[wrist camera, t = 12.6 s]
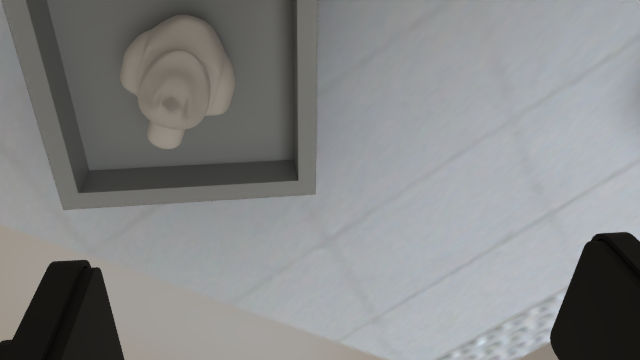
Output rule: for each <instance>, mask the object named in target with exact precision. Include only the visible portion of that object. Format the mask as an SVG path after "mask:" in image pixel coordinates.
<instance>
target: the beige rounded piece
mask: <svg viewBox="0 0 640 360" xmlns="http://www.w3.org/2000/svg"><path fill="white" fill-rule="evenodd" d="M120 81H121V84H122V85H123V87H124V88H125V89H126V90H128V91H129V92H131V93H133V94H134V95H136V96H137V97H138V104H139V108H140V110H141V112H142V113H143V114H144V115H145V116H146V118H148V119H149V120H150V122H149V126H148V130H147V136H148V139H149V141H150V142H151V143H152V144H153V145H155V146H156V147H159V148H162V149H173V148H175V147H177V146H179V145H180V143H181V142H182V139H183V136H184V132H185V129H189V128H192V127H195V126H196V125H198V124H199V123H200V122H201V121H202V120H203V118H204V116H216V115H221V114H223V113H225V112H226V111H227V110H228V108H229V106H230V103H231V100H232V96H233V93H234V90H235V74H234V69H233V65H232V63H231V60H230V59H229V57H228V56H227V54H226V53H225V51H224V48H223V45H222V43H221V41H220V39H219V37H218V36H217V34H216V32H215V31H214V29H213V28H212V26H211V25H209V24H208V23H207V22H205V21H204V20H202V19H199V18H197V17H194V16H190V15H175V16H173V17H171V18H169V19H167V20H165V21H163V22H161V23H160V24H158V25H157V26H155V27H154V28H153V29H151V30H148V31H145V32H143V33H142V34H140V35H139V36H138V37H137V38H136V39H135V40H134V41H133V42H132V43H131V44H130V46H129V47H128V48H127V50H126V52H125V54H124V58H123V63H122V68H121V73H120Z"/></svg>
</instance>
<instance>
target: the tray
mask: <svg viewBox="0 0 640 360" xmlns="http://www.w3.org/2000/svg"><path fill="white" fill-rule="evenodd" d="M2 4H3V7H4V10H5V14H6V17H7V21H8V24H9V27H10V31H11V34H12V38H13V41H14V44H15V48H16V51H17V55H18V58H19V61H20V65H21V68H22V72H23V75H24V78H25V82H26V85H27V89H28V92H29V95H30V99H31V102H32V105H33V109H34V112H35V116H36V119H37V122H38V126H39V129H40V133H41V136H42V139H43V143H44V146H45V150H46V153H47V156H48V160H49V163H50V167H51V170H52V173H53V177H54V180H55V184H56V187H57V190H58V194H59V197H60V201H61V204H62V207H63V210H69V209H85V208H102V207H118V206H134V205H151V204H167V203H183V202H200V201H216V200H232V199H248V198H265V197H281V196H297V195H314V194H316V125H317V45H318V0H2ZM175 15H190V16H194V17H197V18H199V19H202V20H204V21H205V22H207V23H208V24H209V25H211V26H212V28H213V29H214V31H215V32H216V34H217V36H218V37H219V39H220V41H221V43H222V45H223V48H224V51H225V53H226V54H227V56H228V57H229V59H230V60H231V63H232V65H233V69H234V74H235V90H234V93H233V96H232V100H231V103H230V106H229V108H228V110H227V111H226V112H225V113H223V114H221V115H216V116H204V118H203V120H202V121H201V122H200V123H199V124H198V125H196V126H195V127H192V128H189V129H185V132H184V136H183V139H182V142H181V143H180V145H179V146H177V147H175V148H173V149H162V148H159V147H156V146H155V145H153V144H152V143H151V142H150V141H149V139H148V136H147V130H148V126H149V122H150V120H149V119H148V118H146V116H145V115H144V114H143V113H142V112H141V110H140V108H139V104H138V97H137V96H136V95H134V94H133V93H131V92H129V91H128V90H126V89H125V88H124V87H123V85H122V84H121V81H120V73H121V68H122V63H123V58H124V54H125V52H126V50H127V48H128V47H129V46H130V44H131V43H132V42H133V41H134V40H135V39H136V38H137V37H138V36H139V35H140V34H142V33H143V32H145V31H148V30H151V29H153V28H154V27H155V26H157V25H158V24H160V23H161V22H163V21H165V20H167V19H169V18H171V17H173V16H175Z"/></svg>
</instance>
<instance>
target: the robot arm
mask: <svg viewBox="0 0 640 360" xmlns="http://www.w3.org/2000/svg"><path fill="white" fill-rule="evenodd" d="M550 340H551V345H552V348H553V350H554V352H555V354H556V356H557V357H558V359H559V360H640V242H639V241H638V240H637V239H636V238H635V237H634V236H633V235H632V234H630V233H627V232H619V233H601V234H596V235H595V236H594V237H593V238H592V240H591V241H590V242H588V243H586V245H585V246H584V249H583V251H582V254H581V256H580V259H579V261H578V264H577V267H576V269H575V272H574V274H573V277H572V279H571V282H570V285H569V287H568V290H567V292H566V295H565V297H564V300H563V303H562V305H561V308H560V310H559V313H558V315H557V318H556V321H555V323H554V326H553V328H552V331H551V335H550ZM0 360H124V357H123V352H122V349H121V345H120V341H119V337H118V333H117V330H116V326H115V322H114V318H113V314H112V310H111V306H110V302H109V299H108V295H107V291H106V287H105V283H104V279H103V276H102V272H101V270H100V268H97V267H96V268H91V266H90V264H89V262H88V261H87V260H75V261H55V262H52V263H51V264H50V265H49V266H48V268H47V270H46V272H45V274H44V276H43V278H42V280H41V282H40V284H39V286H38V288H37V291H36V292H35V295H34V297H33V299H32V301H31V303H30V305H29V307H28V309H27V311H26V313H25V315H24V317H23V319H22V321H21V323H20V325H19V327H18V329H17V331H16V333H15V335H14V337H13V339H12V340H5V341H2V342H0Z"/></svg>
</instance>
